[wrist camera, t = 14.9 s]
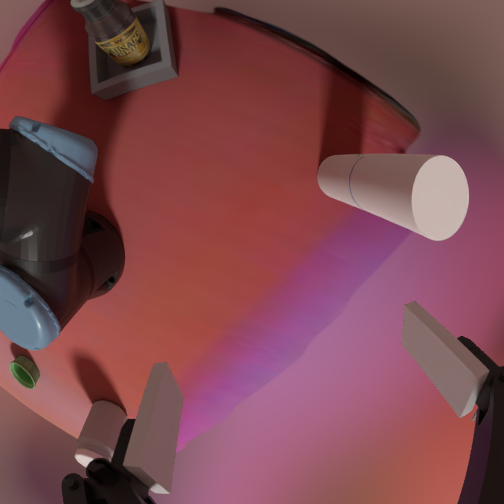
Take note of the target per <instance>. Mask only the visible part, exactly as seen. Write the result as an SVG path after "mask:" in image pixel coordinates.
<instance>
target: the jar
mask: <svg viewBox="0 0 504 504" xmlns="http://www.w3.org/2000/svg"><path fill="white" fill-rule="evenodd" d="M126 421H127V417H126V414H125V412H124V411H123V410H122V409H121V408H120V407H119V406H118V405H116V404H114V403H112V402H110V401H106V400H102V401H97V402H94V404H93V406H92V408H91V410H90V412H89V415H88V417H87V419H86V422H85V424H84V426H83V429H82V431H81V433H80V436H79V438H78V444H79V447H78V450H77V452H76V454H75V458H76V459H77V461H78V462H79V463H80V464H82V465H83V466H85V467H86V468H87V465H88V464H89V462H91V461H92V460H93V459H96V458H105V459H107V460H109V461H110V462H111V460H112V456H113V453H114V450H115V447H116V443H117V440H118V437H119V434H120V431H121V428H122V426H123V425H124V423H125V422H126Z"/></svg>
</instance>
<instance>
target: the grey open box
mask: <svg viewBox="0 0 504 504" xmlns="http://www.w3.org/2000/svg"><path fill="white" fill-rule="evenodd" d="M131 10H132V12H133V13H134V14H135V15H136V17H137V19H138V21H139V22H140V24H141V26H142V28H143V30H144V31H145V33H146V35H147V36H148V38H149V40H150V43H151V50H150V54H149V56H148V57H147V58H146V59H145V60H144V61H143V62H142V63H141V64H139V65H137V66H135V67H124V66H121V65H119V64H117V63H116V62H115V61H114V60H113V59H112V58H111V57H110V56H109V55H108V54H107V53H106V52H105V51H104V50H103V49H101V48H100V47H99V46H98V45H97V44H96V43H95V42H94V40H93V39H92V38H91V37H90V35H89V68H90V83H91V94H93V95H95V96H98V97H100V98H102V99H104V100H108V99H111V98H113V97H116V96H119V95H121V94H124V93H127V92H130V91H133V90H136V89H139V88H142V87H145V86H148V85H152V84H155V83H158V82H162V81H165V80H169V79H173V78H177V77H178V71H177V65H176V59H175V52H174V45H173V38H172V31H171V23H170V16H169V12H168V10H167V7H166V5H165V3H164V0H156V1H152V2H149V3H146V4H143V5H139V6H136V7H134V8H131Z"/></svg>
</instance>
